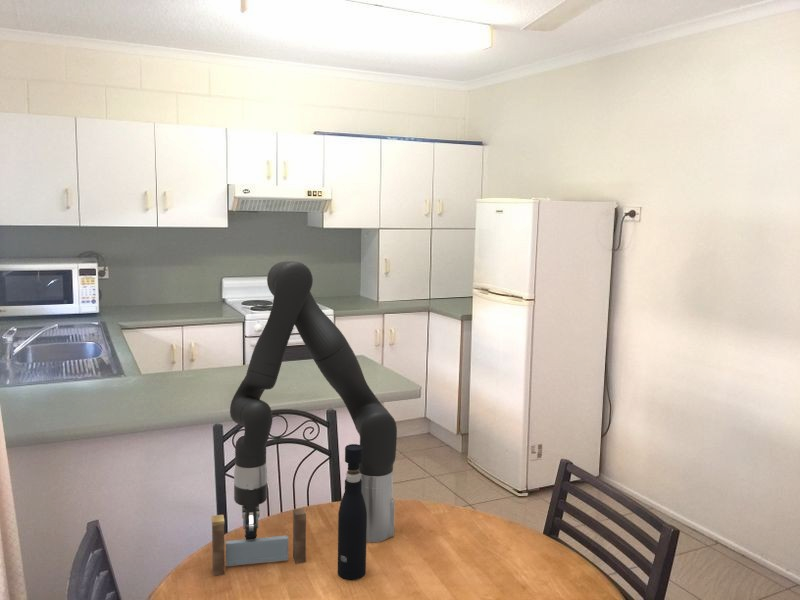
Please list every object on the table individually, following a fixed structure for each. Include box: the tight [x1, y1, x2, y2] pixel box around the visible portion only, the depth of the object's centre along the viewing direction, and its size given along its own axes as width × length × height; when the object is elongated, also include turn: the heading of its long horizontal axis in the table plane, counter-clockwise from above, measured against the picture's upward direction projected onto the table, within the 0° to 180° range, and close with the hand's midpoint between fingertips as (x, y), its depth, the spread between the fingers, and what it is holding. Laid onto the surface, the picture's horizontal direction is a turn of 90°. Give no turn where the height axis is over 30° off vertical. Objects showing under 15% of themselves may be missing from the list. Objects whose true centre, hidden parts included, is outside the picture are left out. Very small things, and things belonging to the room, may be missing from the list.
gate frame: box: [210, 507, 307, 577], centre depth 155 cm, size 21×3×13 cm, turn 109°
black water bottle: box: [337, 443, 367, 581], centre depth 152 cm, size 6×6×30 cm
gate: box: [225, 535, 289, 567], centre depth 156 cm, size 14×1×6 cm, turn 104°
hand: (250, 550), depth 160 cm, fingers closed
